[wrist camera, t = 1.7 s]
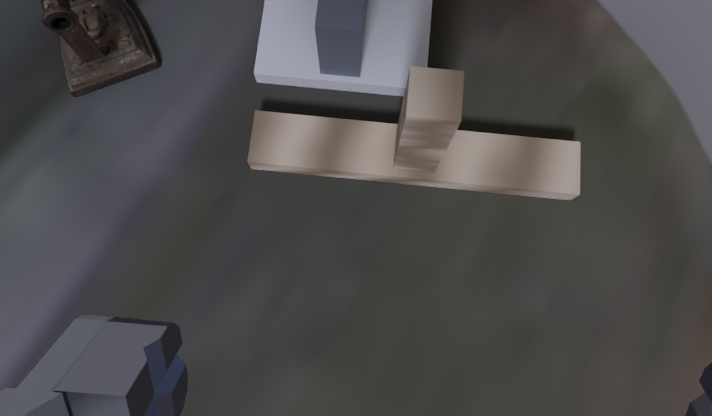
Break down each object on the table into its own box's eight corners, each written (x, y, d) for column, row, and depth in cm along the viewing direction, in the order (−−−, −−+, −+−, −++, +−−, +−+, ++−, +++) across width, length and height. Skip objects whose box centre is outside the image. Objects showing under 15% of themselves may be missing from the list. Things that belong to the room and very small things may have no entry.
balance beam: (252, 169, 42) (213, 106, 30) (259, 120, 42) (224, 40, 31) (569, 201, 41) (655, 149, 30) (569, 150, 42) (653, 80, 30)
